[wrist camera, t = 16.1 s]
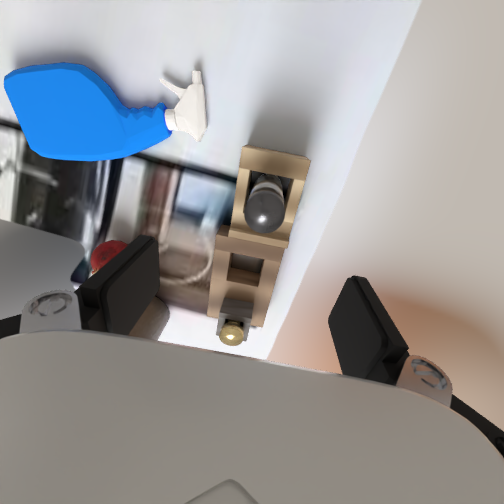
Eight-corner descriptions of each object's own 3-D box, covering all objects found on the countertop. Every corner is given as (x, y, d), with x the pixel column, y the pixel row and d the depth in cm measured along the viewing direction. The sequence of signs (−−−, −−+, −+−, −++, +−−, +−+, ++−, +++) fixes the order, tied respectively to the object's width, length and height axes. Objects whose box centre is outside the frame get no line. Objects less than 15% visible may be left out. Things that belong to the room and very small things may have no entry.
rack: (246, 144, 30) (240, 147, 25) (305, 156, 30) (312, 161, 25) (235, 221, 36) (228, 236, 30) (285, 231, 36) (287, 248, 30)
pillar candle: (115, 293, 45) (49, 361, 32) (161, 290, 43) (111, 360, 30) (134, 328, 49) (83, 401, 36) (176, 326, 48) (139, 401, 35)
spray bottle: (34, 163, 32) (207, 159, 30) (-11, 62, 26) (196, 51, 25) (52, 160, 34) (212, 157, 32) (14, 69, 29) (203, 59, 27)
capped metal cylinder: (257, 170, 32) (247, 189, 21) (285, 176, 32) (289, 198, 21) (251, 198, 34) (241, 229, 23) (278, 204, 34) (279, 236, 23)
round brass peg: (226, 306, 37) (220, 326, 33) (247, 311, 37) (244, 331, 33) (223, 322, 38) (218, 343, 35) (244, 327, 38) (241, 347, 35)
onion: (115, 226, 38) (78, 248, 31) (147, 243, 39) (119, 268, 32) (107, 252, 41) (72, 278, 33) (137, 267, 41) (109, 295, 34)
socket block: (221, 224, 36) (209, 245, 29) (283, 237, 36) (285, 260, 29) (212, 301, 44) (200, 332, 37) (263, 311, 44) (261, 344, 37)
